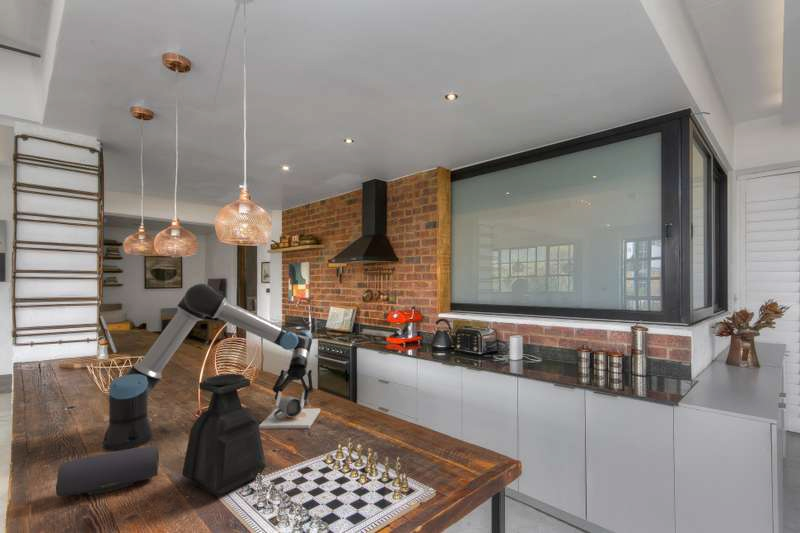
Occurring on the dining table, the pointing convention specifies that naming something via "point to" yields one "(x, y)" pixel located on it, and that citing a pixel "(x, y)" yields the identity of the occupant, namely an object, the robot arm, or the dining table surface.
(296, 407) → the ceramic mug
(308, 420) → the charging plate
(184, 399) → the dining table surface
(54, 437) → the dining table surface
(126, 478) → the bluetooth speaker
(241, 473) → the bottle
